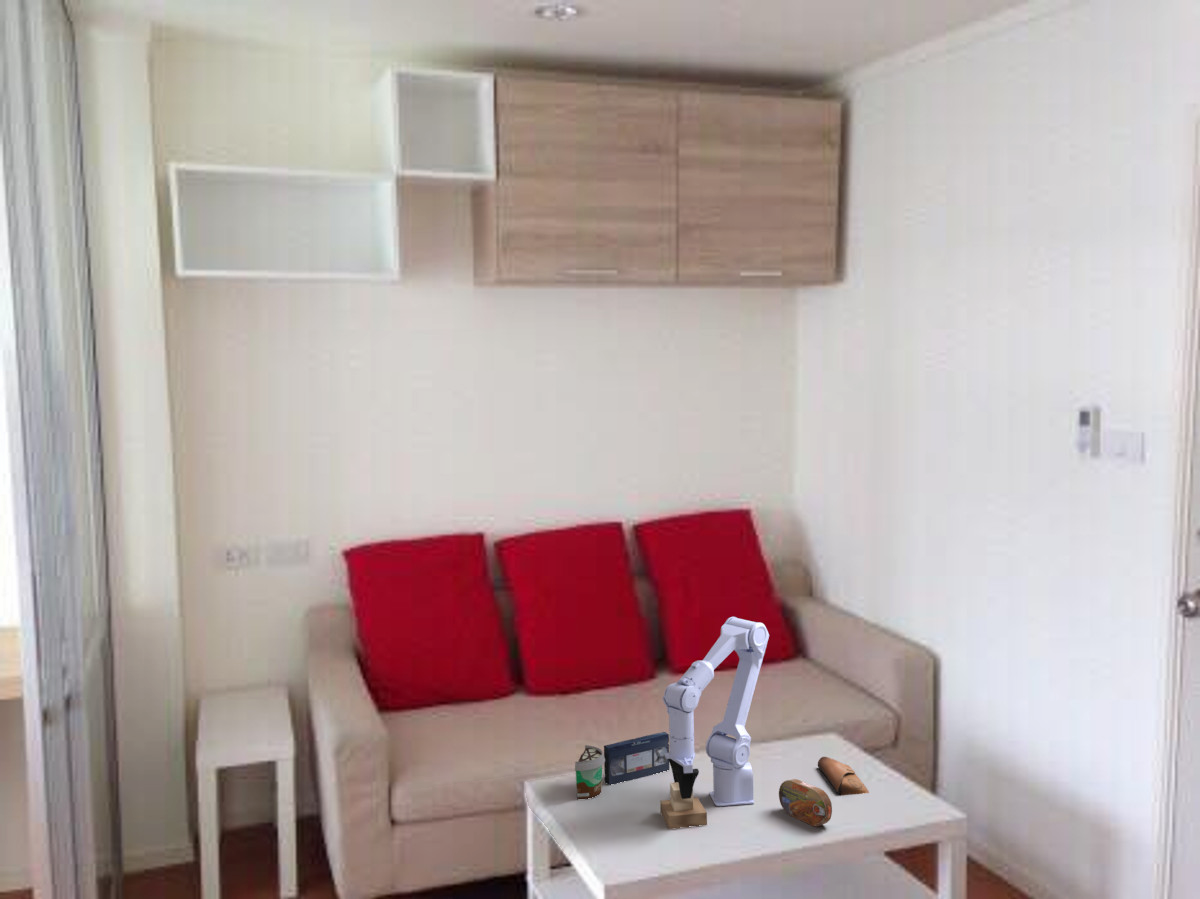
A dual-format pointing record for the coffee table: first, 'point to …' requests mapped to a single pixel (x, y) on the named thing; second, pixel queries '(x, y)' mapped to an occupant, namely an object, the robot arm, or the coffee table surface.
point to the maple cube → (679, 799)
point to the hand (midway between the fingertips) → (682, 791)
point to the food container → (589, 772)
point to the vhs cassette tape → (636, 758)
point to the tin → (805, 802)
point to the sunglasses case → (841, 777)
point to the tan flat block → (683, 815)
